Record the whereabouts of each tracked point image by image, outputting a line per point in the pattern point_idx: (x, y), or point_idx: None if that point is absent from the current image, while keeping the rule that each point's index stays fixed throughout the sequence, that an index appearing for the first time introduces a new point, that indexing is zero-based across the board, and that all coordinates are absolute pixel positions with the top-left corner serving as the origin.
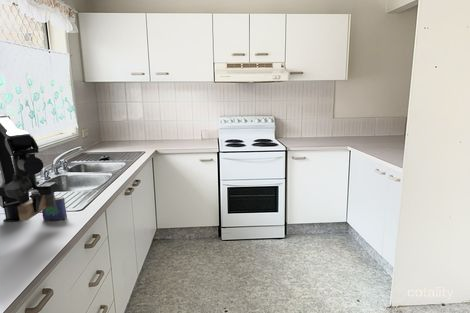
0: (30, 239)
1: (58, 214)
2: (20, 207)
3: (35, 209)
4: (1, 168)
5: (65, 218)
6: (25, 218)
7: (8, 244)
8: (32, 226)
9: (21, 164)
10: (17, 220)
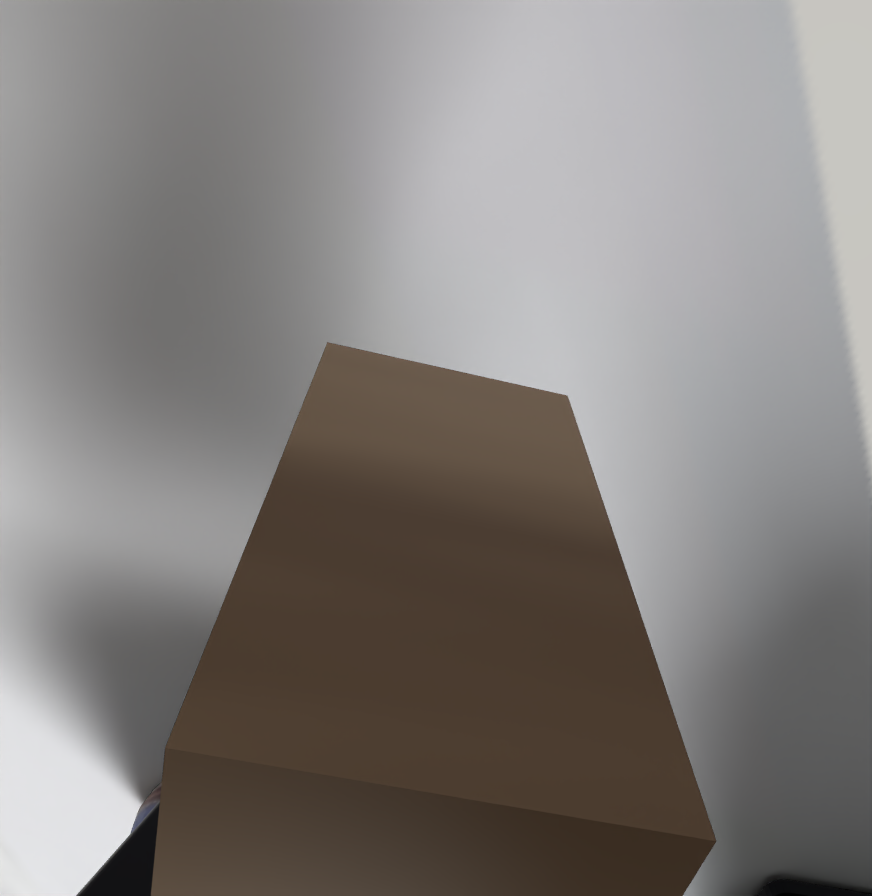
0: (405, 243)
1: None
2: (501, 750)
3: None
4: None
5: (146, 800)
6: (371, 379)
7: (744, 132)
8: None
9: None
10: (791, 888)
